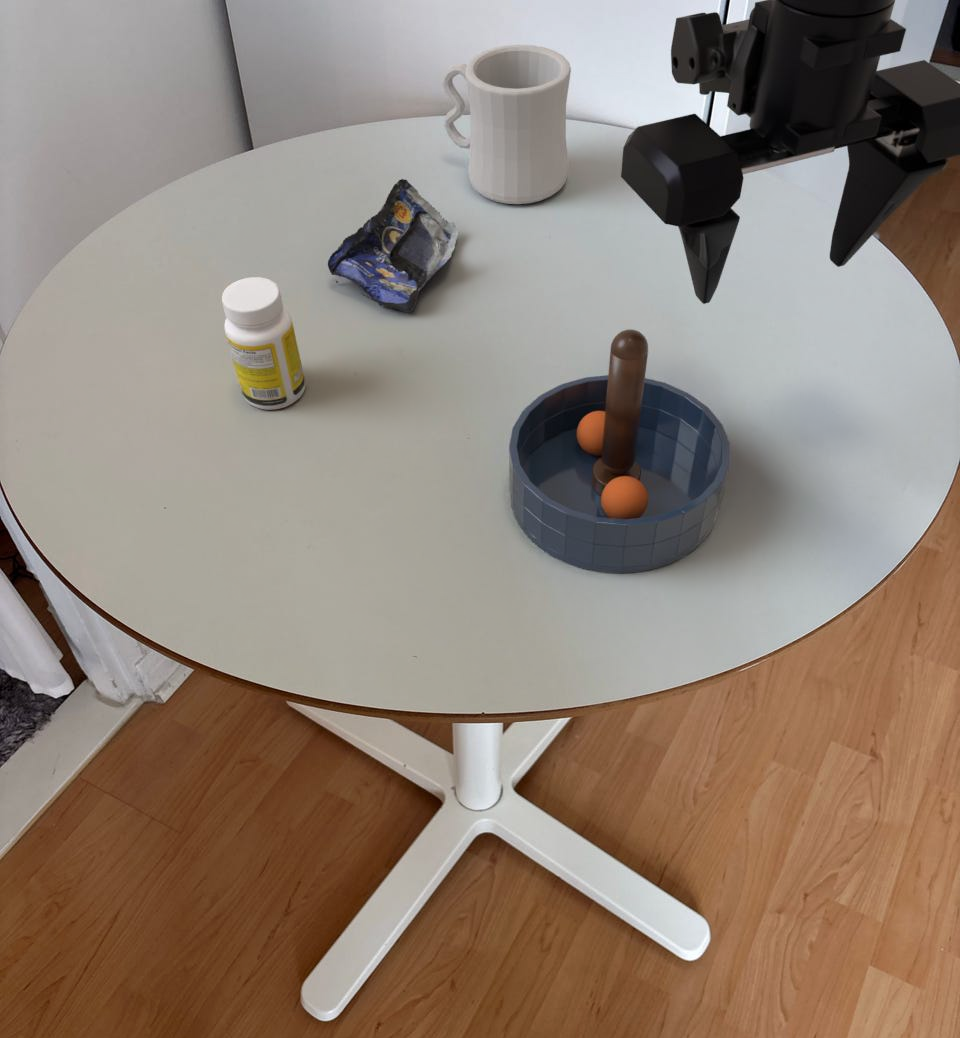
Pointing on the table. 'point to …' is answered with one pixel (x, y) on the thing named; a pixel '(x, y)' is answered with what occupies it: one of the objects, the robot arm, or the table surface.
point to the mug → (513, 121)
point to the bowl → (664, 473)
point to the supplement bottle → (262, 343)
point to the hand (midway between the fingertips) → (770, 280)
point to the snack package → (396, 249)
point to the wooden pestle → (622, 409)
